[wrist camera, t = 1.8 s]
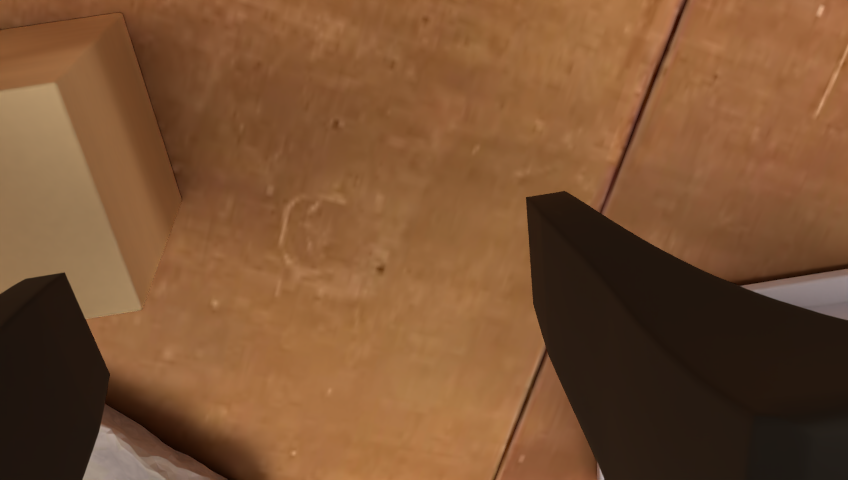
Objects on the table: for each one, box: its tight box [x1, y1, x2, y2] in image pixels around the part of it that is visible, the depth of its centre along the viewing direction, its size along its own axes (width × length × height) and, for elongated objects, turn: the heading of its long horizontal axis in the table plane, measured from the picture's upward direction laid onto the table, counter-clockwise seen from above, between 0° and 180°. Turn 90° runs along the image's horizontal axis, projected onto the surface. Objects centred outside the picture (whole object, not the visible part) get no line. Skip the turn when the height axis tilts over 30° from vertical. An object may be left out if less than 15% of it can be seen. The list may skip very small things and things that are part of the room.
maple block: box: [0, 13, 182, 319], centre depth 17 cm, size 5×5×5 cm
